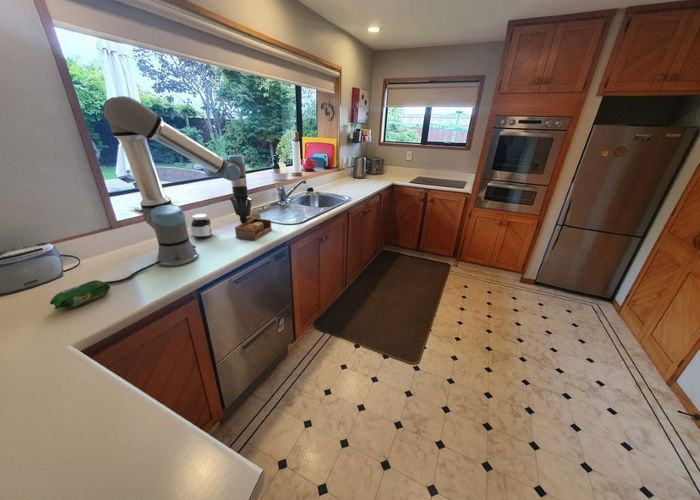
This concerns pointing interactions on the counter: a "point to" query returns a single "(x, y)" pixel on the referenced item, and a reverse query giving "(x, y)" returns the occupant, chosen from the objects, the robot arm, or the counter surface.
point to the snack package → (80, 294)
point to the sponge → (253, 214)
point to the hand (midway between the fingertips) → (244, 227)
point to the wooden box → (253, 229)
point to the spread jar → (201, 226)
